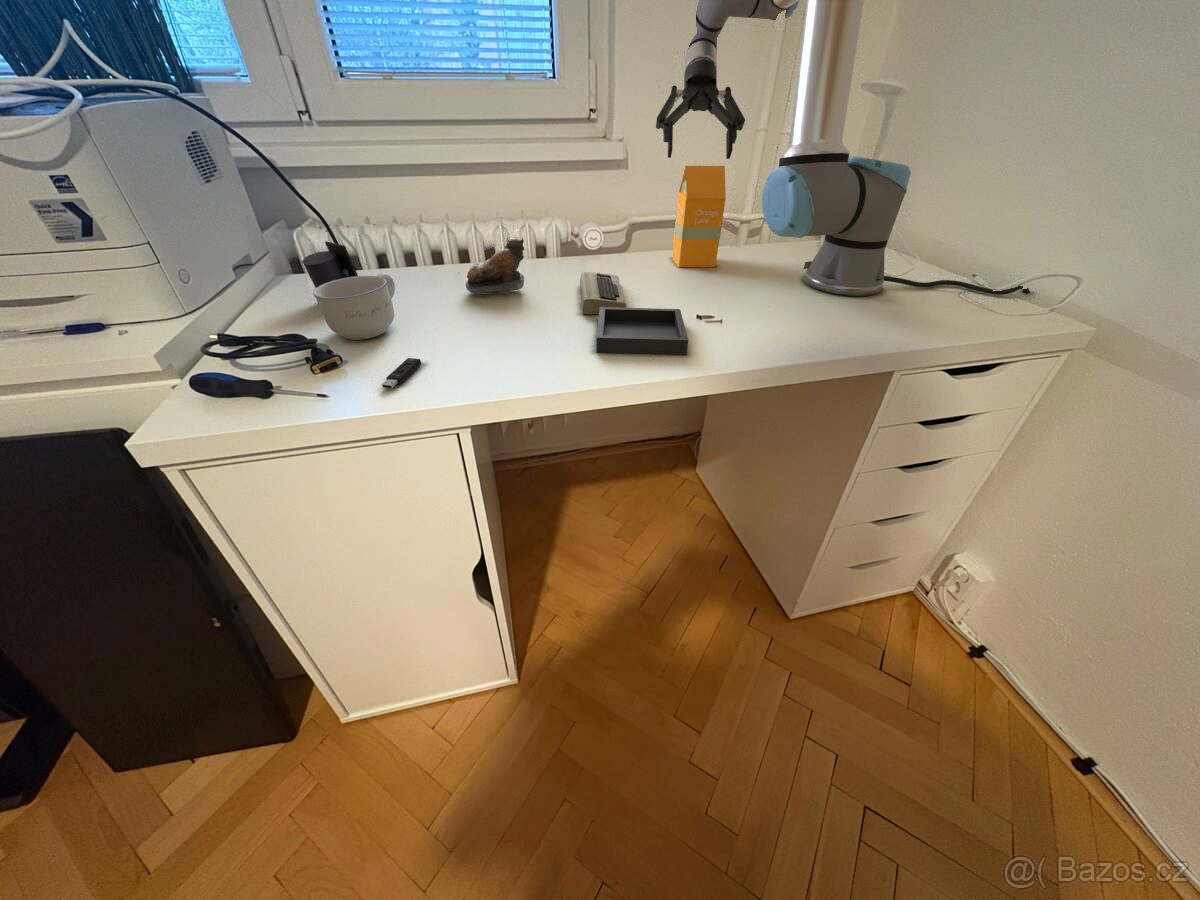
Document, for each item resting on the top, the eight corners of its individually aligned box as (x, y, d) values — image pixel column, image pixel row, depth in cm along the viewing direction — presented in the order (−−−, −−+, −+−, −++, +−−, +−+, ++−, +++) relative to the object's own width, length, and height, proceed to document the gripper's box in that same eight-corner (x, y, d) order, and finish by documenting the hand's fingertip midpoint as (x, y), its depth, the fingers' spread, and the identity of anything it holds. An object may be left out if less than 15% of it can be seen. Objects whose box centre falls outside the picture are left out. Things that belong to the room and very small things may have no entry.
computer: (626, 314, 87) (627, 296, 85) (582, 315, 87) (582, 297, 85) (618, 286, 100) (619, 270, 98) (579, 286, 100) (579, 270, 98)
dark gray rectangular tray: (678, 322, 85) (680, 308, 83) (686, 355, 74) (688, 340, 73) (599, 320, 85) (599, 306, 84) (596, 352, 75) (596, 337, 73)
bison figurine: (467, 300, 93) (458, 244, 86) (466, 288, 98) (458, 235, 92) (529, 295, 95) (525, 241, 89) (525, 284, 100) (521, 232, 94)
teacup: (356, 352, 74) (340, 301, 69) (314, 336, 78) (296, 286, 73) (427, 323, 83) (417, 276, 78) (385, 310, 88) (374, 265, 83)
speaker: (359, 291, 95) (338, 236, 88) (369, 300, 92) (347, 245, 84) (319, 302, 92) (294, 247, 85) (327, 313, 88) (301, 256, 81)
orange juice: (671, 258, 117) (680, 163, 105) (706, 257, 118) (720, 163, 106) (678, 267, 111) (689, 168, 99) (715, 267, 112) (731, 168, 100)
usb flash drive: (394, 390, 64) (392, 383, 64) (381, 389, 65) (379, 382, 64) (421, 364, 71) (420, 358, 70) (409, 363, 71) (407, 356, 70)
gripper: (748, 87, 117) (749, 166, 114) (646, 85, 117) (644, 164, 114) (758, 58, 109) (759, 142, 106) (648, 56, 110) (646, 140, 107)
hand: (699, 154), depth 110 cm, fingers open, 13 cm apart
